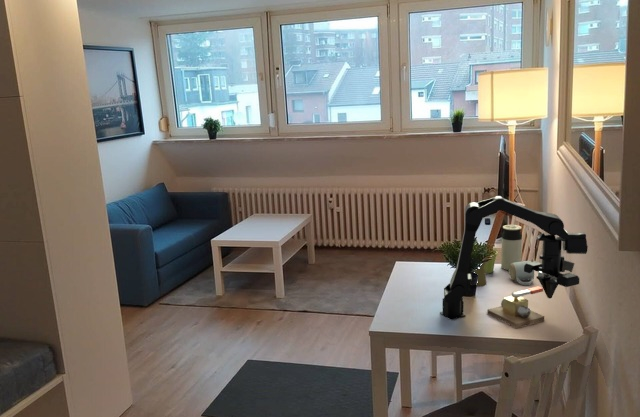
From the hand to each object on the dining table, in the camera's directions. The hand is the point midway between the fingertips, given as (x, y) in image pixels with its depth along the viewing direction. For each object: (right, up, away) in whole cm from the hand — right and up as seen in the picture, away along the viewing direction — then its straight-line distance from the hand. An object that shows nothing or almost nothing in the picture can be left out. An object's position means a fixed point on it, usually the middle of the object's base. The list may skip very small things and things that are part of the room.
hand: (549, 298), depth 194 cm
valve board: (-10, -7, +4) cm, 13 cm away
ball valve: (-10, -6, +4) cm, 12 cm away
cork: (-14, 0, +37) cm, 39 cm away
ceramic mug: (+4, +1, +38) cm, 38 cm away
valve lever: (-6, +1, +4) cm, 7 cm away
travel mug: (+5, +4, +54) cm, 54 cm away
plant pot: (-7, +3, +51) cm, 51 cm away
